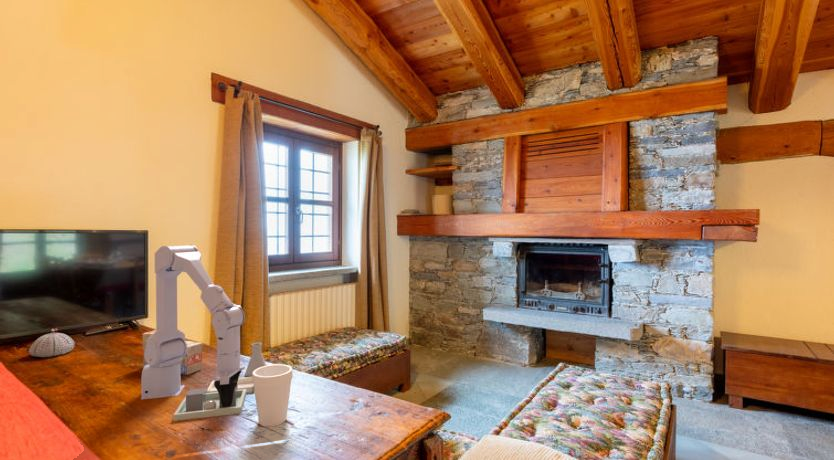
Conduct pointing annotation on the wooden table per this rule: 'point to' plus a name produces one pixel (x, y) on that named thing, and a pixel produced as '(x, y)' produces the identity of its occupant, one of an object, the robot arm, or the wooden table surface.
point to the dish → (242, 384)
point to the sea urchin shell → (51, 345)
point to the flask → (255, 359)
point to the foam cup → (272, 393)
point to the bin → (214, 396)
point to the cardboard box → (190, 360)
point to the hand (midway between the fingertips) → (228, 401)
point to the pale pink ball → (210, 405)
